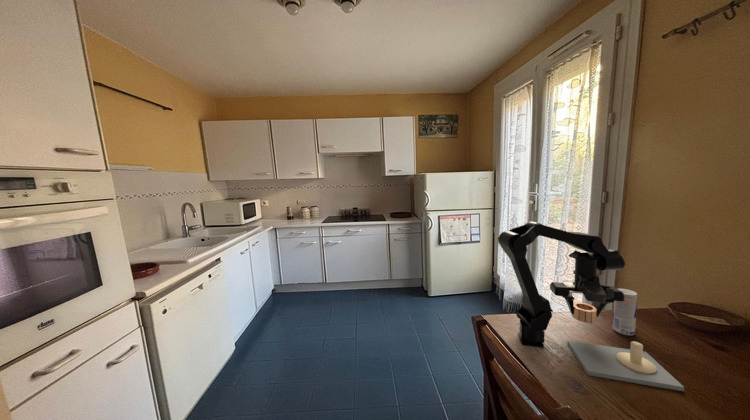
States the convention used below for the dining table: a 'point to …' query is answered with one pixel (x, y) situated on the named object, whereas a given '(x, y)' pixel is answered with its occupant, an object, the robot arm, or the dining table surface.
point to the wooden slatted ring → (584, 312)
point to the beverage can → (625, 313)
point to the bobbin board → (623, 364)
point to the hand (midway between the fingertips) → (583, 315)
